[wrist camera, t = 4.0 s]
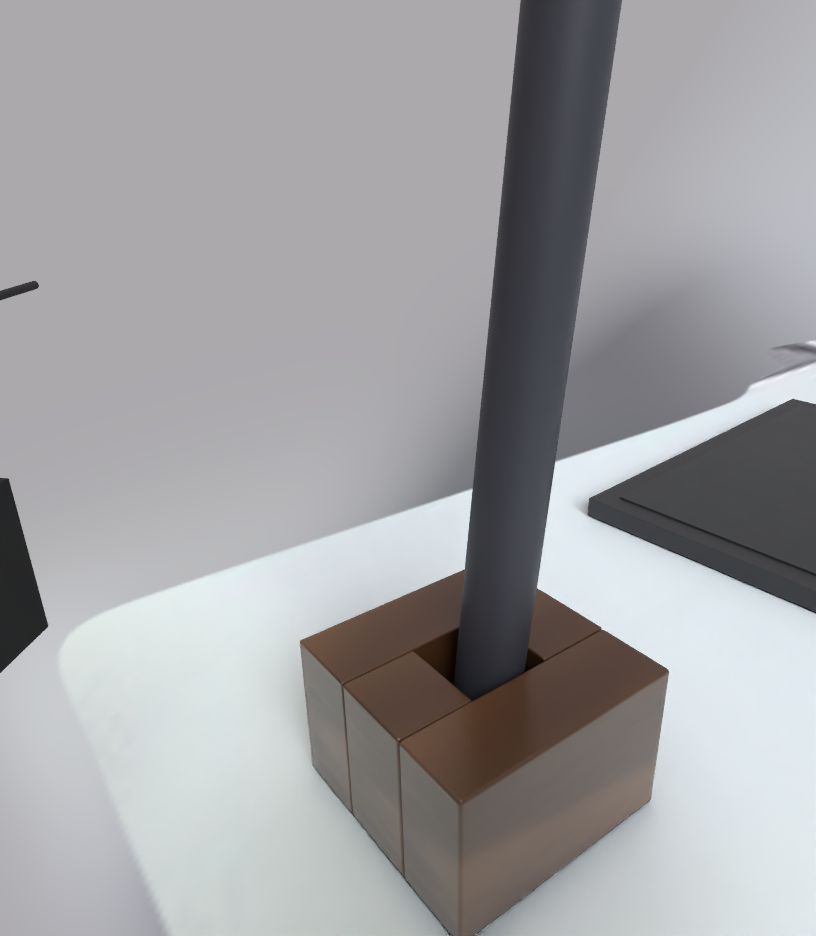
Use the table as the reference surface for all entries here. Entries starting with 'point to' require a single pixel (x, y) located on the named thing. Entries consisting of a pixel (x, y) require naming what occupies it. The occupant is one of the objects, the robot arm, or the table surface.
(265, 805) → the table surface
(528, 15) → the stylus
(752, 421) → the dark grey flat block
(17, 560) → the robot arm
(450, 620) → the pen stand
